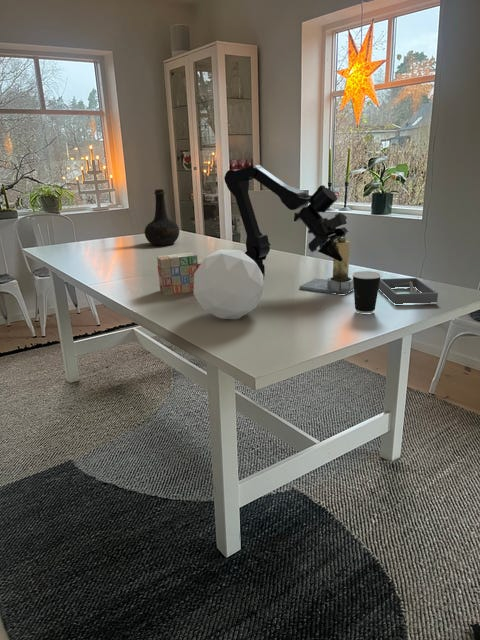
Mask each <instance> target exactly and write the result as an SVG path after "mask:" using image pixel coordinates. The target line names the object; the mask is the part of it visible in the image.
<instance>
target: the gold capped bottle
mask: <svg viewBox="0 0 480 640" xmlns="http://www.w3.org/2000/svg"><path fill="white" fill-rule="evenodd" d="M334 246H335V248H336V249H337V251H338V252H339V254H340V255H341V257H342V259H343V260H342V261H338V260H336V259H334V258H332V259H333V260H332V261H333V262H332V277H333V279H334V280H347V279H348V277H349V267H350V266H349V265H350V251H351V250H350V248H351V247H350V246H351V241H349V240H347V237H346V236H345V237H338V241H334Z"/></svg>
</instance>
